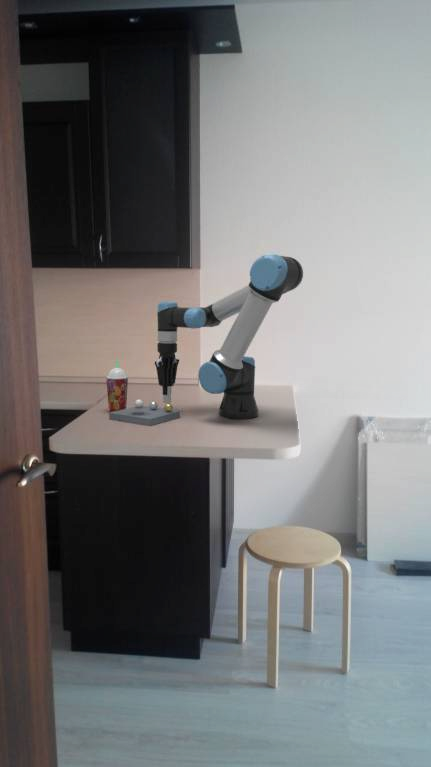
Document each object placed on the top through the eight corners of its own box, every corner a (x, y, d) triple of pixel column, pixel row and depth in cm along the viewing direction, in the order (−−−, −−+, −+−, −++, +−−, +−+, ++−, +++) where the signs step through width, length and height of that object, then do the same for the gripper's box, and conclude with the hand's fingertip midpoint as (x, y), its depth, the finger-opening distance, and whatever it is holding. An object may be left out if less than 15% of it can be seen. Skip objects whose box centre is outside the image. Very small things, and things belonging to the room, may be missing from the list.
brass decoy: (174, 411, 219) (174, 403, 218) (169, 413, 216) (169, 404, 215) (167, 410, 220) (167, 402, 220) (162, 412, 218) (162, 403, 217)
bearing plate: (180, 417, 221) (180, 411, 220) (150, 426, 205) (150, 419, 205) (140, 411, 230) (140, 405, 230) (109, 419, 215) (109, 412, 215)
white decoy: (144, 407, 226) (144, 399, 225) (139, 408, 223) (139, 400, 223) (138, 406, 228) (138, 398, 227) (133, 407, 225) (133, 399, 224)
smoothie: (131, 410, 233) (131, 360, 230) (122, 414, 225) (122, 362, 222) (112, 408, 235) (111, 359, 232) (102, 412, 227) (102, 361, 224)
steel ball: (159, 409, 222) (159, 401, 222) (154, 410, 220) (154, 402, 219) (152, 408, 224) (152, 400, 223) (147, 409, 221) (147, 401, 221)
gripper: (169, 340, 233) (169, 399, 236) (148, 342, 222) (148, 404, 225) (185, 341, 229) (184, 401, 232) (164, 343, 218) (164, 406, 221)
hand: (166, 402), depth 229 cm, fingers closed
